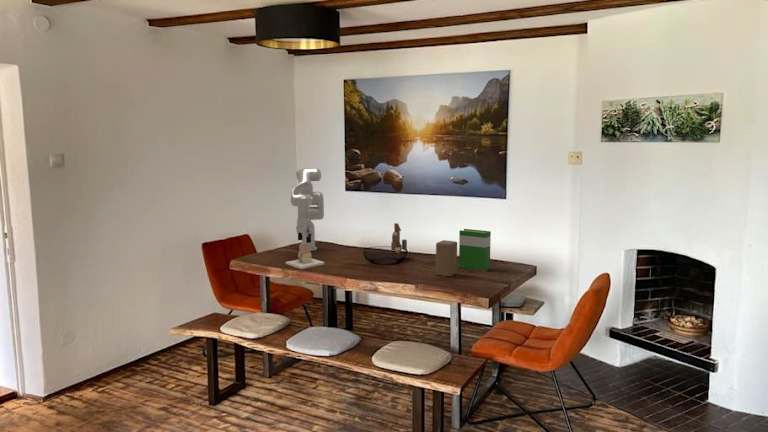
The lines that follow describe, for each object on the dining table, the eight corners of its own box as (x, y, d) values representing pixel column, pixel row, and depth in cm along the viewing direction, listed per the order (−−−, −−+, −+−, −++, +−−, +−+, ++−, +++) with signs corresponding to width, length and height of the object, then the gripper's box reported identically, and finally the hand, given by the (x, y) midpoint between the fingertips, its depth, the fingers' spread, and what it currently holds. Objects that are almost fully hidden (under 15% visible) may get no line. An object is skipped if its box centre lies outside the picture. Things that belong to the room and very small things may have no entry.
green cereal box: (459, 268, 354) (459, 230, 350) (464, 265, 360) (464, 228, 357) (485, 271, 344) (485, 233, 341) (489, 269, 351) (490, 231, 347)
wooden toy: (399, 262, 369) (399, 225, 365) (389, 262, 371) (389, 224, 368) (407, 257, 383) (407, 221, 379) (398, 257, 386) (398, 221, 382)
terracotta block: (299, 252, 365) (299, 245, 365) (305, 251, 369) (305, 244, 368) (303, 253, 362) (303, 246, 361) (310, 252, 365) (310, 245, 364)
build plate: (285, 264, 367) (285, 261, 367) (308, 259, 379) (308, 257, 379) (301, 268, 354) (301, 266, 354) (324, 264, 366) (324, 261, 366)
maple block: (298, 261, 366) (298, 252, 366) (306, 260, 370) (306, 251, 370) (303, 263, 362) (303, 254, 361) (311, 261, 366) (311, 252, 365)
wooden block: (450, 277, 331) (450, 244, 328) (435, 275, 336) (435, 242, 333) (457, 273, 339) (457, 241, 336) (442, 271, 345) (442, 239, 342)
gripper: (291, 214, 366) (292, 240, 368) (306, 217, 353) (307, 244, 356) (301, 213, 371) (301, 238, 373) (316, 216, 358) (316, 242, 361)
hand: (304, 241), depth 365 cm, fingers open, 9 cm apart
